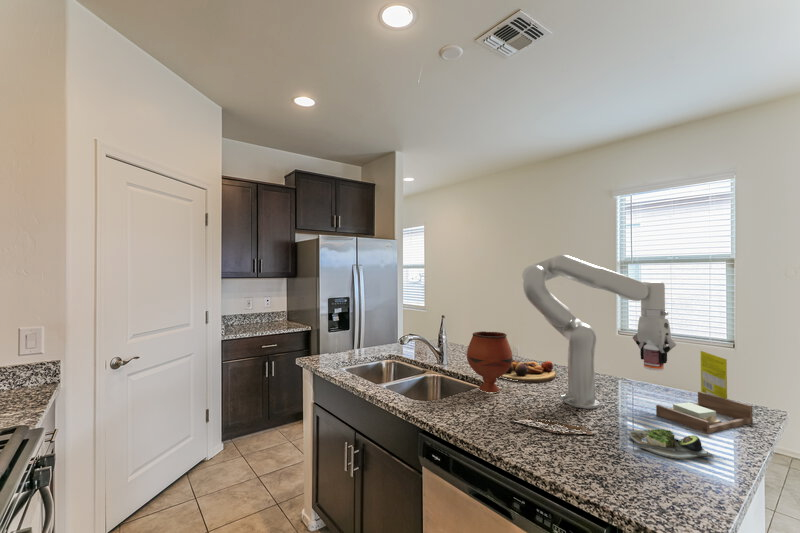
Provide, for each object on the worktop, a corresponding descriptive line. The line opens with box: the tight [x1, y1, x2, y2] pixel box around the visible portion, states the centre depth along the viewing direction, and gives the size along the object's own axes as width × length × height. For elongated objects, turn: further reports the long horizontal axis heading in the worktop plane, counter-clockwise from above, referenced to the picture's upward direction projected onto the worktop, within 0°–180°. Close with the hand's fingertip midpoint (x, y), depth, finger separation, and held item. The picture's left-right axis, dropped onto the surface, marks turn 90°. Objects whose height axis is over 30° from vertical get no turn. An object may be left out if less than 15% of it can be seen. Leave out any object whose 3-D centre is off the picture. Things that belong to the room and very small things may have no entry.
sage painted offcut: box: [672, 401, 717, 418], centre depth 122 cm, size 7×9×2 cm
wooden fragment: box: [525, 417, 594, 436], centre depth 120 cm, size 26×11×1 cm, turn 63°
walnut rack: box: [655, 391, 754, 434], centre depth 124 cm, size 24×16×7 cm, turn 111°
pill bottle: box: [643, 340, 665, 372], centre depth 137 cm, size 6×6×11 cm
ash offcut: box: [671, 407, 717, 422], centre depth 122 cm, size 8×10×2 cm
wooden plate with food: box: [501, 359, 557, 383], centre depth 185 cm, size 32×32×8 cm
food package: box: [700, 350, 728, 399], centre depth 139 cm, size 15×1×20 cm, turn 168°
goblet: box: [466, 331, 514, 392], centre depth 157 cm, size 19×19×25 cm
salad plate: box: [628, 428, 714, 460], centre depth 107 cm, size 19×18×5 cm
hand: (653, 360), depth 137 cm, fingers closed on pill bottle, 6 cm apart
